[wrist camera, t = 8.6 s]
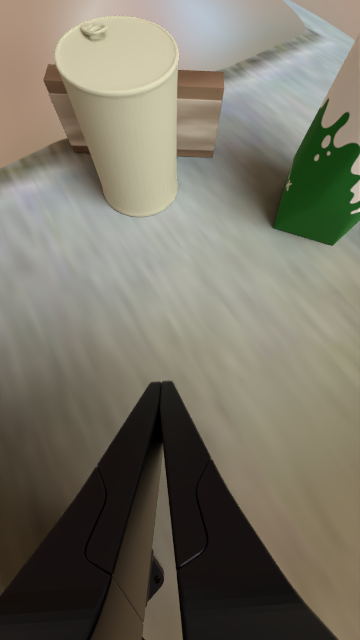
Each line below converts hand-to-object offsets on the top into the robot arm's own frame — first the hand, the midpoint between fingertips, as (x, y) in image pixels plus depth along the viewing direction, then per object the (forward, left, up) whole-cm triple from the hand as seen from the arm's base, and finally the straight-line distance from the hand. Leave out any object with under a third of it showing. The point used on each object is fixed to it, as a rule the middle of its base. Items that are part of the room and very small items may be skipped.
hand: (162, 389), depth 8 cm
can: (+13, +20, -13) cm, 27 cm away
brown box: (+17, +25, -13) cm, 33 cm away
